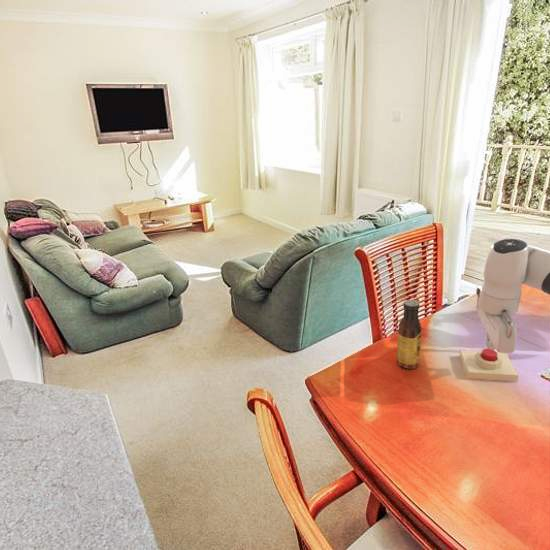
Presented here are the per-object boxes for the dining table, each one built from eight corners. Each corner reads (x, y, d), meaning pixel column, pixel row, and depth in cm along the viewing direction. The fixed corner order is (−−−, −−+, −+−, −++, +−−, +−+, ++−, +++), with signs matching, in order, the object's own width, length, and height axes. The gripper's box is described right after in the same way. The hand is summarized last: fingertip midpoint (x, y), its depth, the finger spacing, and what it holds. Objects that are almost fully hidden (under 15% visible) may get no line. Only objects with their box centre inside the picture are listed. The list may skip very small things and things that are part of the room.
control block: (504, 358, 107) (507, 347, 106) (517, 381, 98) (520, 369, 97) (459, 356, 110) (461, 344, 108) (467, 378, 101) (469, 366, 100)
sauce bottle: (420, 371, 105) (426, 309, 97) (397, 370, 107) (401, 309, 99) (417, 356, 111) (422, 297, 103) (395, 356, 113) (398, 297, 104)
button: (494, 354, 104) (495, 349, 103) (498, 362, 101) (499, 356, 100) (479, 353, 105) (480, 348, 104) (483, 361, 102) (484, 356, 101)
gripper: (528, 323, 86) (517, 372, 91) (499, 284, 104) (492, 327, 110) (498, 322, 87) (488, 370, 93) (475, 284, 105) (468, 326, 111)
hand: (490, 346), depth 101 cm, fingers closed
